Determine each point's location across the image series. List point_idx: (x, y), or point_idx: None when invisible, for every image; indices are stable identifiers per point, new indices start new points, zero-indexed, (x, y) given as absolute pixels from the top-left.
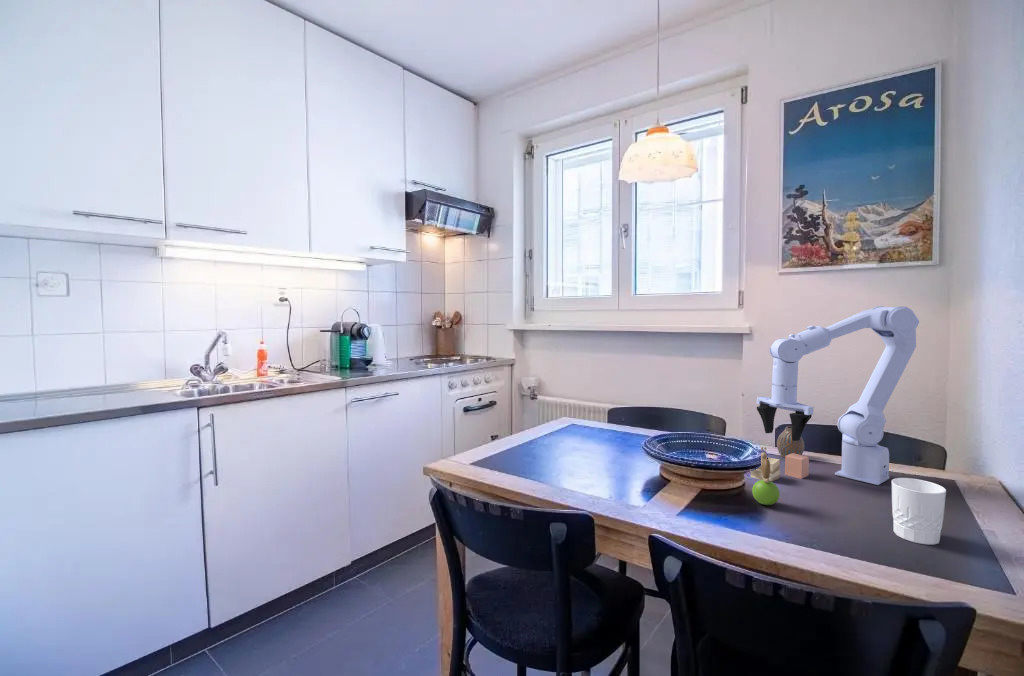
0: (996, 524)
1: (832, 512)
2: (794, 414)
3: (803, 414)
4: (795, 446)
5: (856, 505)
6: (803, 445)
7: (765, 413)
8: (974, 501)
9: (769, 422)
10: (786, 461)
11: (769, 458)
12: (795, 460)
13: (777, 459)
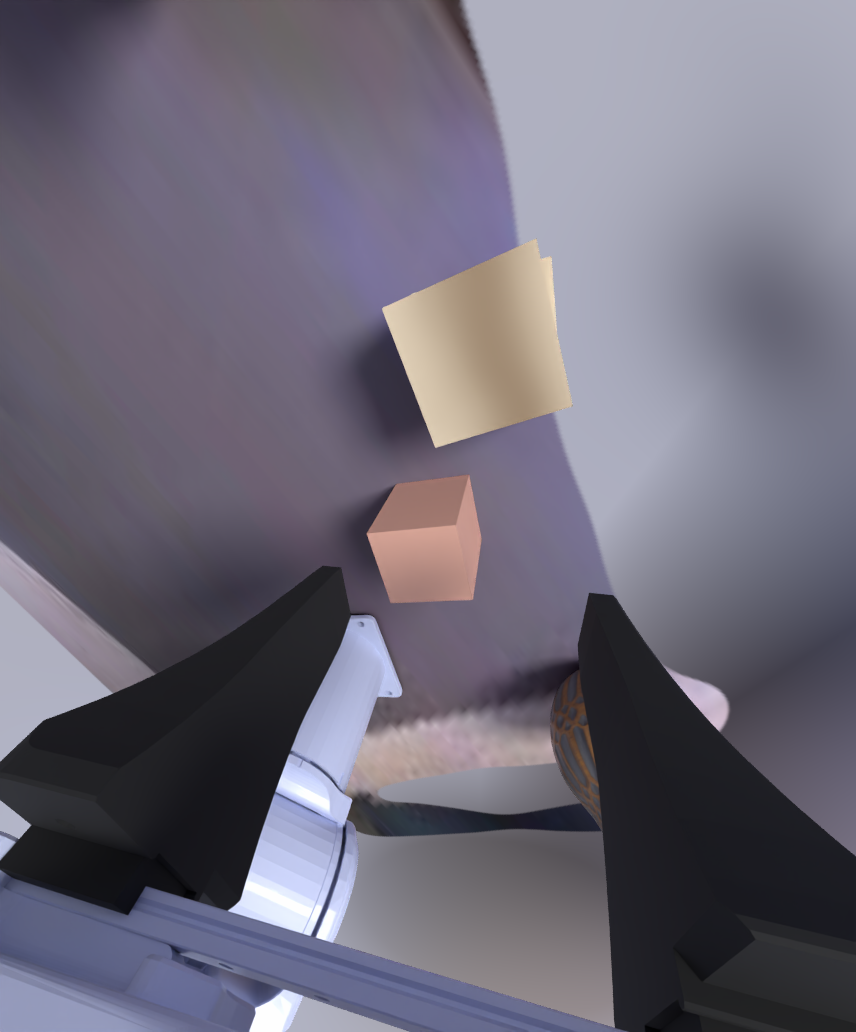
0: (9, 572)
1: (37, 209)
2: (25, 786)
3: (35, 833)
4: (567, 718)
5: (113, 392)
6: (552, 745)
7: (663, 815)
8: (136, 668)
9: (606, 713)
10: (452, 509)
11: (485, 410)
12: (402, 524)
13: (444, 437)
